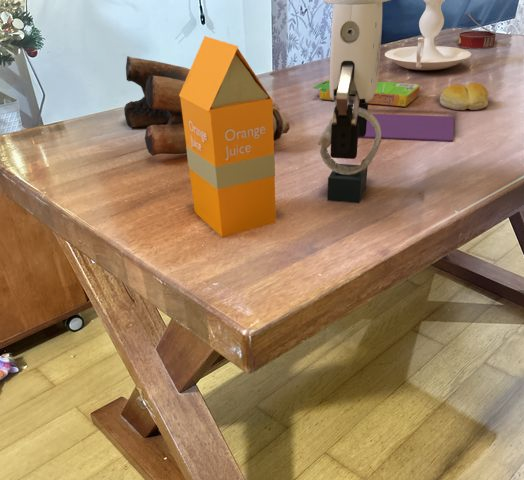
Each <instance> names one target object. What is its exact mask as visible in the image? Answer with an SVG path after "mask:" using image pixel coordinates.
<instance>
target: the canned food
mask: <svg viewBox="0 0 524 480" xmlns="http://www.w3.org/2000/svg"><path fill="white" fill-rule="evenodd" d="M466 14H467V15H468V17H469V19H471V20H472V21H473V22H474V23H475V24H476V25H477V26H479V27H480V28H481V29H483V30H472V31H471V30H469V31H468V30H467V31H463V32H460V33H459V36H458V40H457V42H458V43H457V48H460V49H466V50H467V49H468V50H485V49H490V48H494V46H495V42H496V36H497V33H496V32H494V31H492V30H490V29H488V28H486V27H485V26H483V25H481V24H480V23H478V22H477V21H476V20H475V19H474V18H473V17H472V15H471V13H470V12H469V11H466Z"/></svg>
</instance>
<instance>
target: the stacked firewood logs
mask: <svg viewBox="0 0 524 480" xmlns="http://www.w3.org/2000/svg"><path fill="white" fill-rule="evenodd" d="M190 69H191V68H188V67H184V66H179V65H175V64H170V63H166V62H161V61H156V60H150V59H144V58H137V57H132V56H130V55H127V56H126V63H125V75H126V76H125V77H126V78H125V79H126V81H127V82H133V83H134V84H136V85H138V86H139V87H140V88H141V90H142V93H143V97H141V98H140V99H138V100H134V101H132V100H130V101H129V102H127V103H126V104H125V105H124V108H123V109H124V110H123V111H124V117H125V121H126V125H127V126H128V128H138V127H139V128H142V127H143V128H145V127H146V129H145V136H144V142H145V146H146V150H147V152H148V154H149V155H151V156H152V157H154V156H157V155H162V154H167V155H184V154H186V155H187V150H186V139H185V131H184V123H183V115H182V107H181V99H180V96H179V94H180V92H181V90H182V87H183V85H184V83H185V80H186V78H187V76H188V74H189V71H190ZM289 131H290V122H289V121H288V120H287V119H286V118H285V117H284V115H283V113H282V112H281V107H280V106H279V105H278V104H277V103H275V102H273V134H274V142H275V141H278V140H280V139H281V137H282V136H283V134H288V132H289Z"/></svg>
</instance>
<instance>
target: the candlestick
mask: <svg viewBox="0 0 524 480" xmlns="http://www.w3.org/2000/svg"><path fill="white" fill-rule="evenodd" d="M445 1H446V0H422V2H424V3H425V10H424V11H423V13H422V15H421V16H420V19H419V22H418V26H419V31H420V34H421V35H422V36H420V37H417V45H415V46H413V45H412V46H405V47H397V48H392V49H389V50H387V51H386V52H385V53H384V57H386V58H387V59H389V60H391V61H392V62H393V63H394V64H395V65H397V66H399V67H402V68H403V69H407V70H415V71H438V70H444V69H449V68H452V67H454V66H456V65H458V64H460V63H462V61H464V60H466V59H469V58H470V57H471V56H472V53H471V51H469V50H467V49H465V48H460V47H453V46H443V45H435V37H437V36H438V35H439V34H440V33H441V31H442V29H443V27H444V24H445V16H444V14H443V11H442V5H443V3H444V2H445Z"/></svg>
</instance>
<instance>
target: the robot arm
mask: <svg viewBox="0 0 524 480" xmlns="http://www.w3.org/2000/svg"><path fill="white" fill-rule="evenodd" d="M390 1H391V0H323V2H324V3H325V4H332V15H331V35H330V51H329V52H330V53H329V79H330V98H331V99H332V100H331V101H333V102H334V105H333V112H332V118H333V121H332V127H331V144H330V152H329V155H330V157H331V159H346V160H355V159H356V158H357V155H358V146H359V145H358V143H359V138H358V137H363V136H365V134H366V126H367V120H366V119H365V117H364V118H363V117H361V116H359V115H358V108H359V107H360V108H361V109H362V108H364V109H366V110H368V111H369V103H367V102H369V101H370V100H371V99H372V98H373V96H374V94H375V92H376V89H377V87H378V82H380V80H379V79H380V78H379V77H380V62H381V60H380V59H381V47H382V46H381V45H382V31H383V3H384V2H385V3H386V2H390ZM352 107H353V108H352Z"/></svg>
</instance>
